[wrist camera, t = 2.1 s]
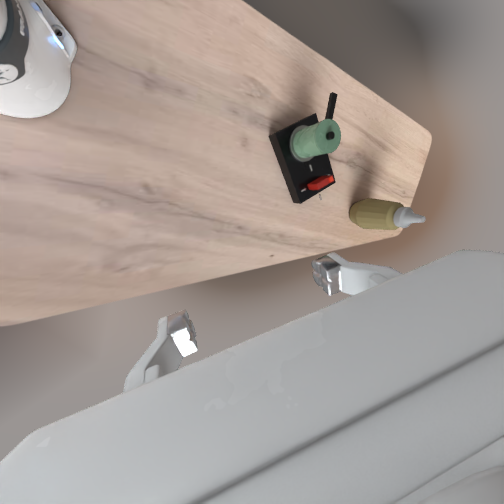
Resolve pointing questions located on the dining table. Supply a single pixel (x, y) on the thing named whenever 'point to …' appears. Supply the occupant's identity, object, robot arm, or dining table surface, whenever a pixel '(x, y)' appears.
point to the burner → (293, 146)
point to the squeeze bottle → (382, 215)
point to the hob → (299, 163)
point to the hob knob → (320, 182)
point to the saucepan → (319, 135)
